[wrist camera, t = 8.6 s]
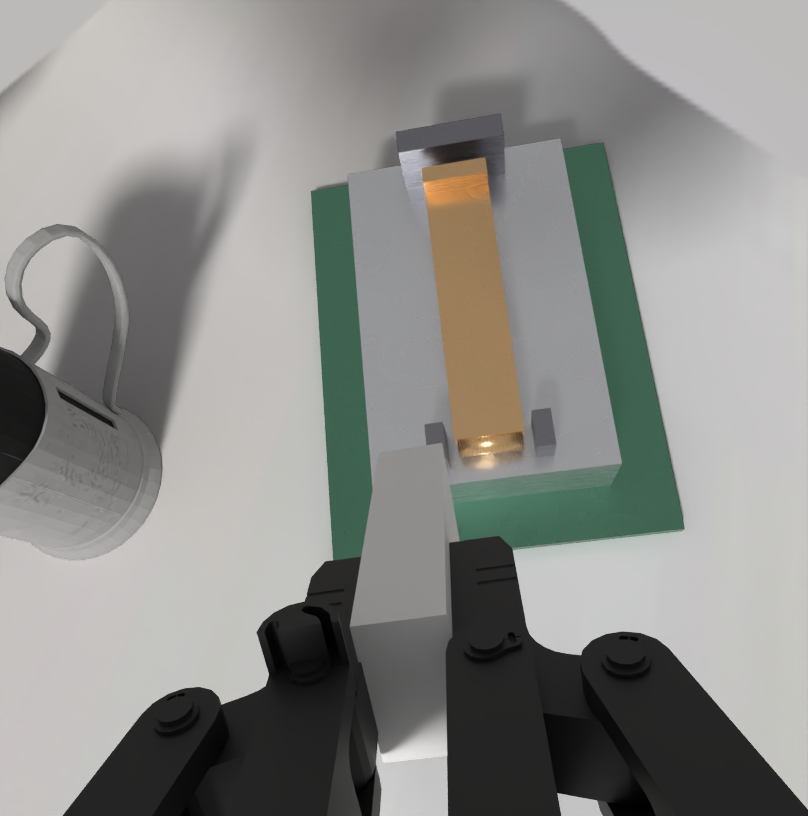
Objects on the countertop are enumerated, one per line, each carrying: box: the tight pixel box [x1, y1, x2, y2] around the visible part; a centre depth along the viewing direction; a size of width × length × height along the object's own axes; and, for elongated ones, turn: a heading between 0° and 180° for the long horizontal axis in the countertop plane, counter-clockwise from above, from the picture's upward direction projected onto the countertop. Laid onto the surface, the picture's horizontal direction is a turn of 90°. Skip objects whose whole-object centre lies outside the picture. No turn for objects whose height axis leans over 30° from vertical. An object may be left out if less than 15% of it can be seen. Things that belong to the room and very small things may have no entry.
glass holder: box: [0, 224, 162, 560], centre depth 35 cm, size 9×14×15 cm, turn 145°
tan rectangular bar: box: [421, 157, 525, 458], centre depth 35 cm, size 14×3×2 cm, turn 5°
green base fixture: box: [311, 114, 685, 560], centre depth 37 cm, size 22×17×8 cm
